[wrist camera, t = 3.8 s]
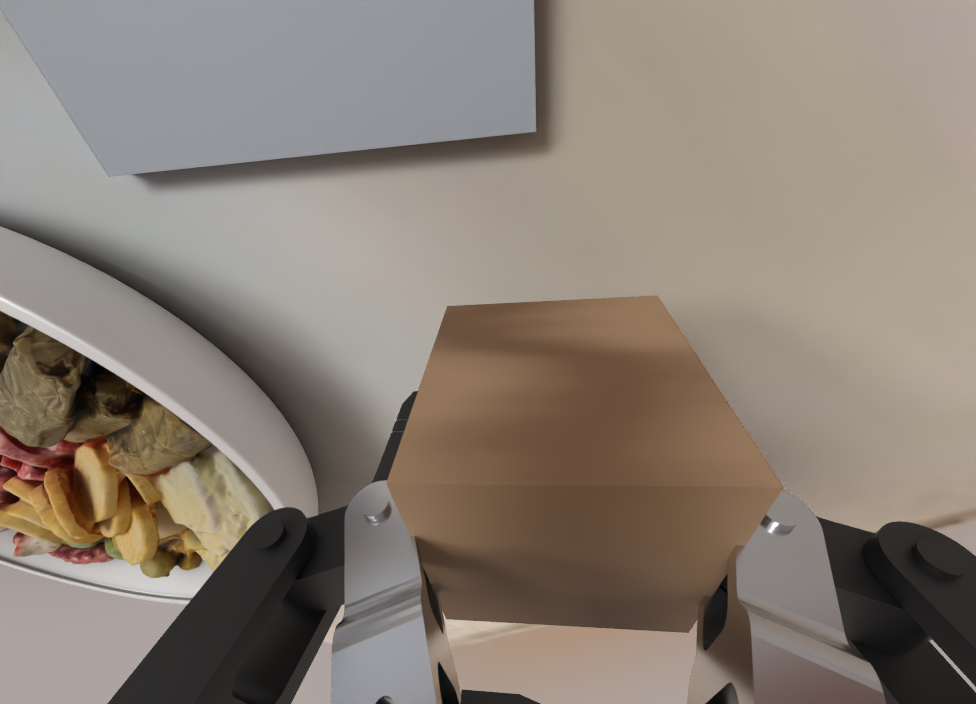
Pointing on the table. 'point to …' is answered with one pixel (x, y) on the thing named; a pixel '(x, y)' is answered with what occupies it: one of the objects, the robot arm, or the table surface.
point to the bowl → (126, 435)
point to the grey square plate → (279, 75)
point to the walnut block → (575, 467)
